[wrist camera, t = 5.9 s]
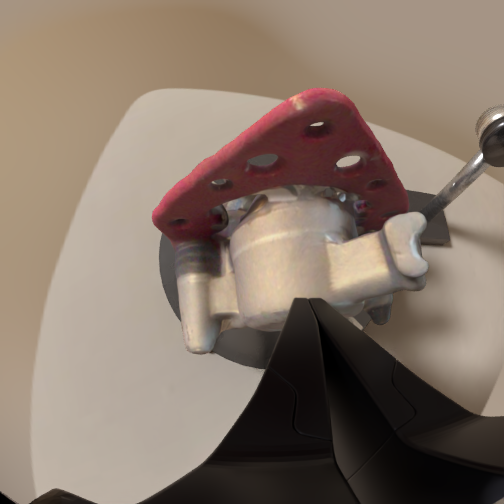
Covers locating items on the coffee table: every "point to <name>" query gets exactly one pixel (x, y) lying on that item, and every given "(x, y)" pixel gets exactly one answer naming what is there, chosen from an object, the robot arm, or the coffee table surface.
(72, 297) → the coffee table surface
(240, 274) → the brake caliper
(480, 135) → the stand
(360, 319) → the truing plate
